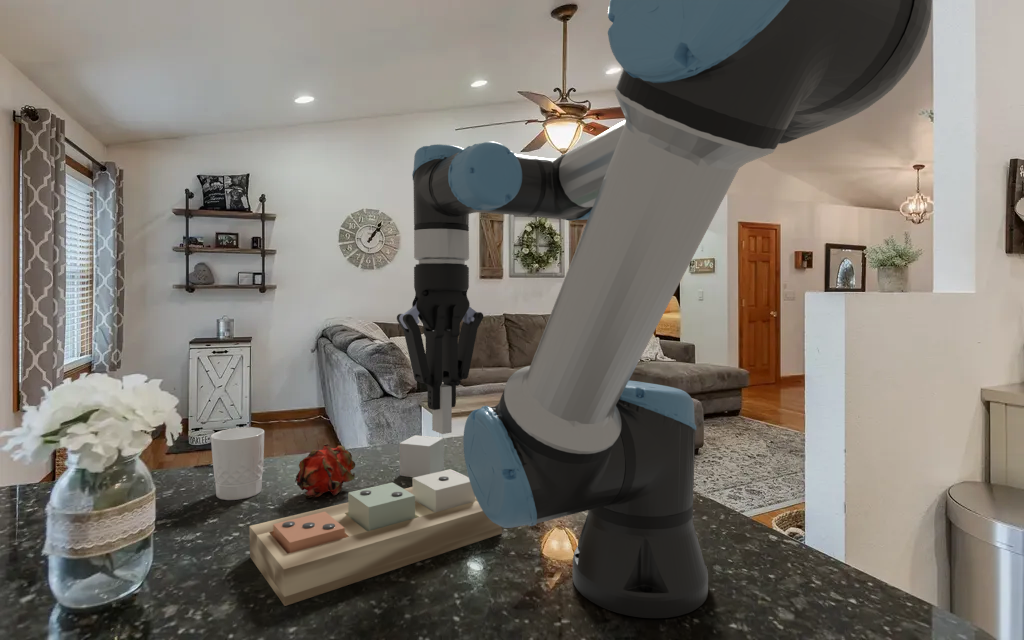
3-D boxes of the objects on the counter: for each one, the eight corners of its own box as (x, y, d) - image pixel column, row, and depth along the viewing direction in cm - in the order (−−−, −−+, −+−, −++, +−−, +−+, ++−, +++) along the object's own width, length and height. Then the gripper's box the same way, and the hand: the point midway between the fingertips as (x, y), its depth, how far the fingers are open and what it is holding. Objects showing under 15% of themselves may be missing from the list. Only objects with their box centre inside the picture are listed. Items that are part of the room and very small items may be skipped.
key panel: (501, 533, 78) (501, 505, 78) (284, 606, 60) (283, 569, 60) (447, 503, 89) (447, 478, 89) (250, 557, 71) (249, 525, 71)
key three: (345, 560, 68) (344, 526, 68) (290, 577, 64) (289, 541, 64) (325, 541, 73) (325, 510, 73) (273, 556, 69) (273, 522, 69)
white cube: (415, 466, 108) (414, 435, 108) (443, 469, 107) (443, 437, 106) (399, 476, 103) (399, 443, 102) (429, 479, 101) (429, 446, 101)
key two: (415, 525, 74) (415, 494, 74) (369, 539, 70) (368, 506, 70) (392, 510, 79) (392, 481, 79) (348, 522, 75) (348, 491, 75)
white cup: (201, 498, 91) (199, 436, 91) (239, 482, 99) (237, 425, 98) (239, 504, 89) (238, 441, 88) (276, 487, 96) (274, 429, 96)
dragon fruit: (355, 490, 100) (307, 526, 89) (320, 458, 101) (269, 490, 90) (375, 456, 96) (328, 489, 86) (338, 424, 98) (288, 453, 87)
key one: (475, 508, 80) (475, 479, 80) (435, 519, 76) (435, 489, 76) (450, 495, 85) (450, 468, 85) (412, 505, 81) (412, 476, 81)
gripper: (465, 264, 86) (465, 419, 87) (385, 262, 77) (387, 433, 79) (495, 263, 80) (494, 429, 81) (413, 260, 72) (414, 445, 73)
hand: (441, 431), depth 80 cm, fingers closed
